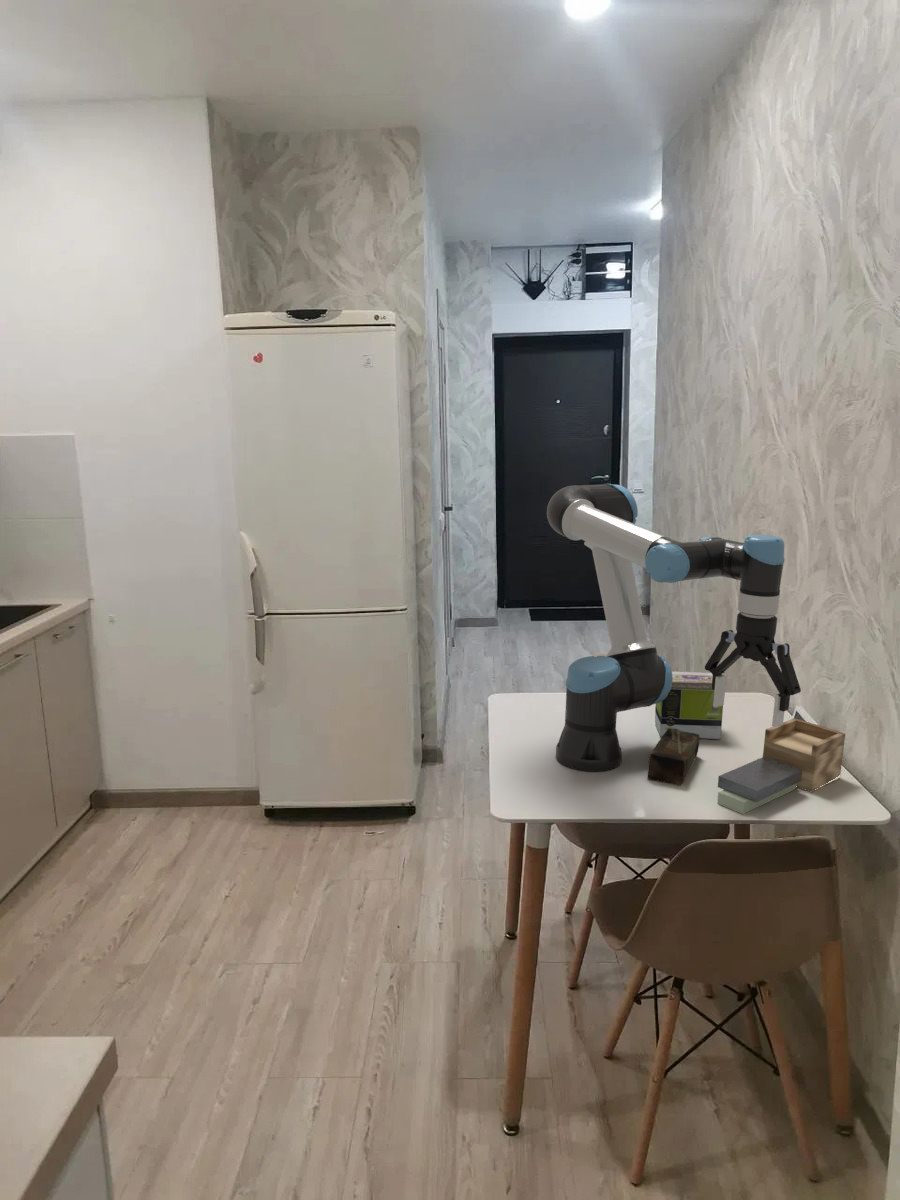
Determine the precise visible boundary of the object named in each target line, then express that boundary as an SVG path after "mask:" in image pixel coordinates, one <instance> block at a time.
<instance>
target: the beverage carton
mask: <svg viewBox="0 0 900 1200" xmlns="http://www.w3.org/2000/svg"><path fill="white" fill-rule="evenodd" d="M699 744H700V738H699V734H695V733H690V732H684V731H680V730H679V729H676V728H674V729H668V730H667V731H666V732H665V734H664V735H663V736H662V737H661V738H660V739H659V740H658V742H657V743H656V744H655V746H654V748H653V749H652V751H651V752H650V754H649V757H648V758H649V759H648V767H647V768H648V769H647V780H652V781H656V782H660V783H661V782H662V783H665V784H670V785H673V786H677V787H682V785H683V784H684V781H686V778H687V776H688V775H689V772H690V771H691V769H692V767H693V765H694V763H695V760H696V758H697V757H698V756H697V755H698V752H699Z"/></svg>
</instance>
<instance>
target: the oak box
mask: <svg viewBox="0 0 900 1200" xmlns="http://www.w3.org/2000/svg"><path fill="white" fill-rule="evenodd" d="M845 741H846V733H844V732H841V731H838V730H834V729H832V728H828V727H825V726H821V725H818V724H815V723H813V722H812V723H811V722H808V721H805V720H802V719H799V718H795V717H794V718H792V719H788V720H786V721H783V724H782V725H780V726H777V727H774V726H771V727H768V728H766V729H765V731H764V741H763V743H764V744H763V753H762V757H766V758H769V759H772V760H775V761H777V762H780V763H783V764H786V765H789V766H792V767H795V768H797V769H800V770H802V777H801V781H800V782H798V783H797V785H796V786H797V787H796V788H799V787H800V789H802V788H803V789H802V790H804V789H806V790H805V791H807V790H809V791H808V792H810V791H813V790H815V789H817V788H819V787H820V786H822V785H824V784H826V783H828V782H829V781H831V780H833V779H835V778H836V777H838V776H839V775H840V776H841V772H842V763H843V756H844V749H845ZM819 789H820V788H819ZM817 790H818V789H817ZM815 791H816V790H815ZM813 792H814V791H813Z"/></svg>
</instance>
